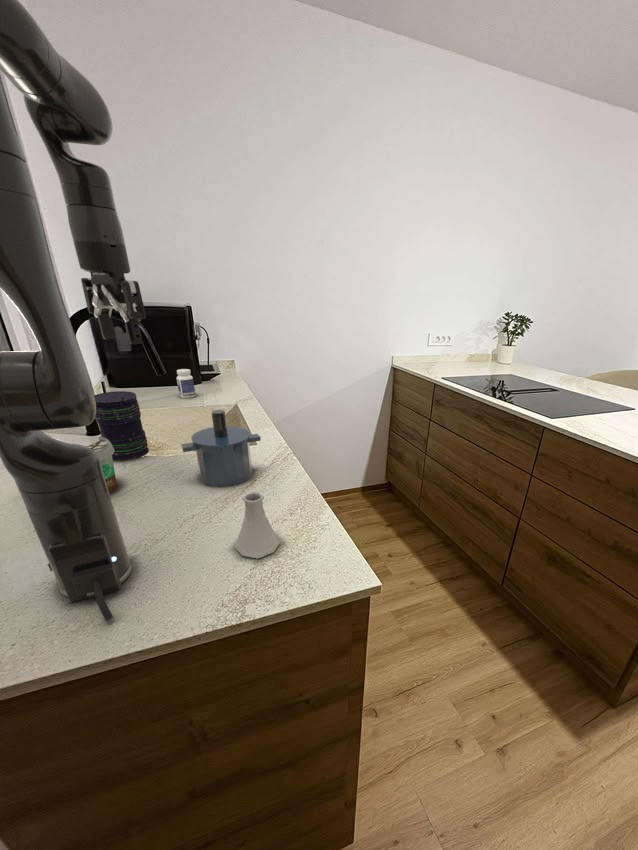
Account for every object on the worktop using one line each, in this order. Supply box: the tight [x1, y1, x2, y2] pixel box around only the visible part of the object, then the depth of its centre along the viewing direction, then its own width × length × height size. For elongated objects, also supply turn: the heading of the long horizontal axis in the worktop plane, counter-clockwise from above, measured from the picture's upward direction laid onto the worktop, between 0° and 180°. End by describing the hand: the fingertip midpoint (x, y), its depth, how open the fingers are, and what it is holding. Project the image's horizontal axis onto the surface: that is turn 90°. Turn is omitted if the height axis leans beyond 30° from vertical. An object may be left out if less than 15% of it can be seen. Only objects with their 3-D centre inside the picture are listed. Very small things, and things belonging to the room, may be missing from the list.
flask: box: [234, 491, 281, 560], centre depth 65 cm, size 7×7×10 cm
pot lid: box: [191, 409, 251, 448], centre depth 85 cm, size 12×12×7 cm
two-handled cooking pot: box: [181, 433, 261, 488], centre depth 89 cm, size 11×17×10 cm
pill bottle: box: [176, 368, 196, 399], centre depth 146 cm, size 6×6×10 cm
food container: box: [86, 436, 118, 494], centre depth 80 cm, size 12×6×10 cm, turn 168°
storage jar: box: [94, 390, 150, 462], centre depth 96 cm, size 10×10×15 cm
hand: (122, 341), depth 73 cm, fingers open, 8 cm apart
